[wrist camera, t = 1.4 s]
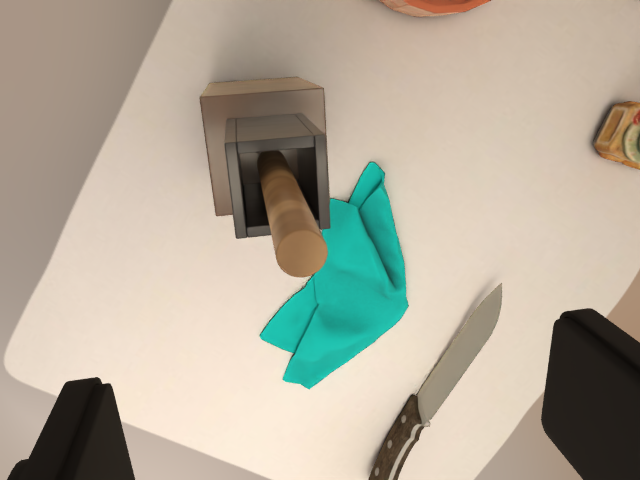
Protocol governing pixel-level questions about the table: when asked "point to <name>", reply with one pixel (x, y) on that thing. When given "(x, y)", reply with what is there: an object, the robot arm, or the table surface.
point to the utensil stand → (264, 146)
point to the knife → (437, 388)
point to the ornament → (621, 135)
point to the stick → (290, 218)
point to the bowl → (432, 6)
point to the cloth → (345, 287)
